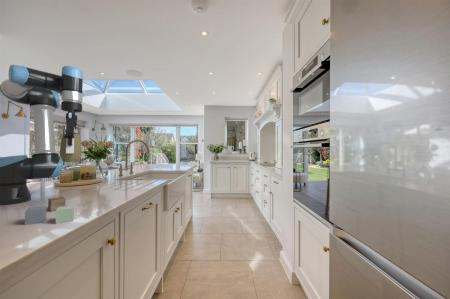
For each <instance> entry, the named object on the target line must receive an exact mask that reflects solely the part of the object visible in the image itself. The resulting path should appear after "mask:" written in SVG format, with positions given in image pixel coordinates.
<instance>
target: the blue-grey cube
mask: <svg viewBox="0 0 450 299" xmlns="http://www.w3.org/2000/svg"><path fill="white" fill-rule="evenodd" d="M46 220H47V206H46V205H43V206H33V207H28V208H27V209H26V210H25V211H24V226H27V225H35V224H37V225H38V224H44V222H45V221H46Z"/></svg>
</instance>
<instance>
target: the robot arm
mask: <svg viewBox="0 0 450 299" xmlns="http://www.w3.org/2000/svg"><path fill="white" fill-rule="evenodd" d="M83 79H84V76H83V70H82V69H81V68H78V67H76V66H71V65H64V66H62V68H61V75H59V74H55V73H51V72H46V71H42V70H38V69H35V68H31V67H28V66H24V65H18V64H10V65H9V68H8V79H5V80H4V81H2V82H1V84H0V93H1V94H2V95H3V96H4V97H5V98H7V99H8V100H10V101H12V102H15V103H17V104H22V105H29V109H30V110H31V111H32V112H33V127H34V128H33V129H34V130H33V132H34V152H33V153H32V154H31V157H29V156H28V155H27V154H20V155H9V156H1V157H0V206H1V205H2V206H4V205H5V206H6V205H12V204H20V203H24V202H28V201H31V200H32V194H31V192H30V190H29V188H28V185H27V183H28V182H27V181H28V180H37V179H38V180H39V179H52V178H58V177H59V176H60V175H61V173H62V172H63V168H64V161H62V159H61V156H60V154H59V153H58V152H57V151H56V144H55V127H54V113H55V112H56V111H57V109H59V107H60V109H61V110H62V111H64V112H66V114H65V122H66V124H65V125H66V127H65V129H66V133H65V134H66V136H64V138H66V153H74V127H75V129H76V130H77V124H78V115H76V113H81V112H82V111H83V104H82V103H83V83H84V80H83ZM60 97H61V99H60ZM60 100H61V101H60ZM60 102H61V104H60Z"/></svg>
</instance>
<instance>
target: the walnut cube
mask: <svg viewBox="0 0 450 299" xmlns="http://www.w3.org/2000/svg"><path fill="white" fill-rule="evenodd" d="M47 199H48V200H47V201H48V202H47V205H48V206H47V210H48V211H49V212H50V211H51V212H50V213H53V211H54V212H56V209H57V208H58V207H63V206H66V203H67V202H66V198H65V197H63V196H59V197H52V198H51V197H50V198H47Z"/></svg>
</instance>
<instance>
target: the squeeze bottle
mask: <svg viewBox="0 0 450 299" xmlns="http://www.w3.org/2000/svg"><path fill="white" fill-rule="evenodd" d="M78 133H79V130H78V129H77V128H76V129H75V127H74V153H66V138H64V136H66V128H64V133H63V134H62V135H61V141H60V146H59V147H60V148H59V153H58V154H59V157H61V159H62V161H63V163H76V162H80V159H81V157H82V154H83V151H82V150H83V149H82V140H81V136H80V134H78Z"/></svg>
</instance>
